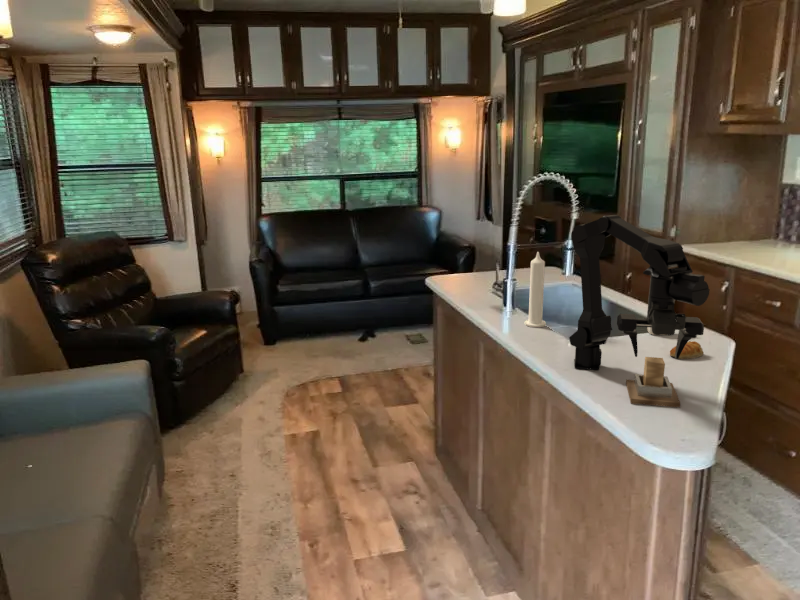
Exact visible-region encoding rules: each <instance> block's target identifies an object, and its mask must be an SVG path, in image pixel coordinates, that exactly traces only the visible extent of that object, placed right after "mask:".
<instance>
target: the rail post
mask: <svg viewBox="0 0 800 600" xmlns="http://www.w3.org/2000/svg"><path fill="white" fill-rule="evenodd" d="M643 366H644V367H643V375H644V376H643V385H647V386H660V387H663V379H664V376H665V369H666V368H665V367H666V363H665V360H664V358H663V357H654V356H653V357H652V356H645V358H644V365H643Z"/></svg>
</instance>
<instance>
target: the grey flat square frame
mask: <svg viewBox="0 0 800 600" xmlns="http://www.w3.org/2000/svg"><path fill="white" fill-rule="evenodd" d="M643 376H644V374H637V373H636V374H634V380H635V381H634V384H635V388H636V391H637V395H638V396H649V397H661V398H671V396H672V387H671V384H670V383H671V382H670V379H669V378H668V376H665V375H664V379H663V387H660V386H647V385H643Z"/></svg>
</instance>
